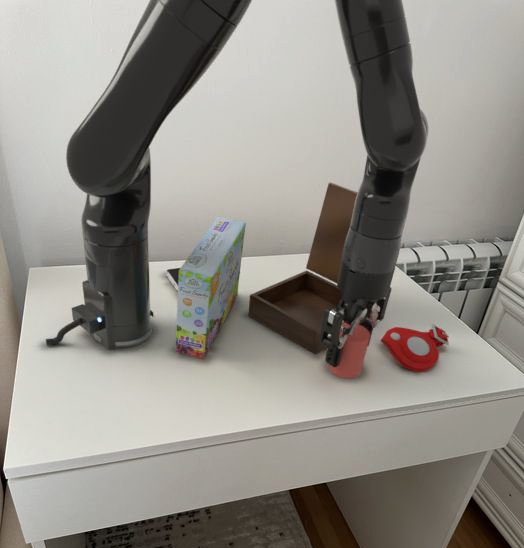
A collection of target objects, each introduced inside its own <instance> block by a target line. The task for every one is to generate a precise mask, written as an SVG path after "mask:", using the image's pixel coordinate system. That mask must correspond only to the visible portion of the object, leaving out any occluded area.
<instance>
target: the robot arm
mask: <svg viewBox="0 0 524 548" xmlns="http://www.w3.org/2000/svg"><path fill="white" fill-rule="evenodd" d="M252 1H253V0H149V1H148V3H147V5H146V7H145V9H144V12H143V14H142V16H141V17H140V19H139V21H138V24H137V25H136V27H135V29H134V31H133V34H132V36H131V37H130V40H129V41H128V44H127V46H126V48H125V51H124V53H123V55H122V57H121V60H120V61H119V64H118V66H117V69H116V71H115V73H114V74H113V76H112V78H111V80H110V82H109V83H108V84H107V86H106V88H105V89H104V91H103V92H102V94H101V95H100V97H99V98H98V99H97V101H96V102H95V104H94V105H93V107H92V108H91V110H90V111H89V112H88V114H87V115H86V116H85V117H84V119H83V120H82V121H81V123H79V125H78V127H76V129H75V131H74V132H73V133H72V134H71V136H70V138H69V140H68V143H67V145H66V146H67V147H66V153H65V154H66V157H65V159H66V167H67V170H68V173H69V176H70V178H71V180H72V182H73V183H74V185H75V186H76V187H77V188H78V189H79V190H81V191H82V192H83V193H85V194H86V199H85V204H84V207H83V211H82V214H81V231H82V241H83V250H84V251H83V252H84V260H85V261H84V262H85V269H86V278H87V279H86V280H84V281H82V282H81V283H82V284H81V285H82V294H83V300H84V301H83V302H84V303H82V304H79V305H76V306H73V307H71V314H72V321H71V322H70V323H68V324H66V325H64V326H63V327H62V328H61V329H59V331H57V332H58V333H57V334H56V336H55V337H53V338H46V339H45V343H46V346H55V345H57V344H60V343H61V342H62V341H63V339H64V337H65V335H66V334H67V333H69V332H71V331H72V330H74V329H75V328H79V326H80V327H81V328H82V329H83V330H85V331H86V332H87V334H88V335H89V336H91V337H92V338H93V339H95V341H96V342H98V343H99V344H100V345H102V346H103V347H104V348H106V349H107V350H110V351H111V350H113V349H116V348H128V347H134V346H137V345H140V344H142V343H144V342H145V341H147V340H148V339H149V338H150V336H151V335H152V331H153V330H152V326H153V325H152V318H154V316H155V315H154V311H153V310H151V288H150V287H151V286H150V264H149V263H150V259H149V258H150V256H149V221H150V220H149V219H150V216H151V215H150V213H151V205H152V160H151V159H152V158H151V149H150V146H151V144H152V143H153V141H154V138H155V137H156V135H157V133H158V131H159V130H160V128H161V127H162V125H163V124H164V122H165V121H166V119H167V117H168V116H169V115H170V114H171V113H172V111H174V109H175V108H176V107H177V106H178V105H179V104H180V103H181V101H182V100H183V99H185V97H186V96H187V95H188V93H190V91H191V90H192V89H193V88H194V87H195V85H196V84H198V82H199V81H200V80H201V78H202V77H203V76H204V75H205V73H206V72H207V71H208V70H209V68H210V67H211V66H212V65H213V63H214V62H215V61H216V59H217V58H218V57H219V55H220V54H221V52H222V51H223V49H224V48H225V46H226V45H227V43H228V42H229V40H230V39H231V37H232V36H233V34H234V33H235V32H236V29H237V28H238V25H240V23H241V22H242V20H243V18H244V17H245V15H246V13H247V11H248V9H249V8H250V7H251V4H252ZM334 4H335V5H334V6H335V11H336V15H337V20H338V24H339V25H338V26H339V29H340V34H341V38H342V42H343V47H344V50H345V55H346V60H347V64H348V65H349V70H350V74H351V77H352V79H353V83H354V88H355V94H356V104H357V110H358V112H357V113H358V118H359V125H360V131H361V136H362V140H363V145H364V149H365V152H366V155H367V156H366V161H365V165H364V172H363V176H362V180H361V183H360V186H359V187H358V191H357V192H358V193H357V196H356V199H355V203H354V209H353V214H352V219H351V224H350V228H349V231H348V233H347V236H346V240H345V244H344V249H343V254H342V259H341V264H340V269H339V274H338V279H337V283H336V285H337V286H338V288H339V289H340V291H341V293H342V298H341V300H340V302H339V305H338V307H337V308H335V309H332V308H330V307H328V308H326V310H325V313H324V318H323V323H322V329H321V334H320V339H319V342H320V343H322V344H324V345H326V346H327V347H328V348H327V349H326V355H325V359H324V360H325V363H326V364H328V365H329V364H330V365H331V366H333V367H337V366H339V365H340V360H341V356H342V351H343V345H344V343H345V342H346V340H347V338H348V336H351V335H353V333H354V332H355V330H356V328H357V326H358V324H359V323H360V322H362V323H360V324H359V325H361V326H363V327H365V328H366V329H367V330H368V331H369V333H370V338H369V342H368V346H367V348H368V347H369V346H370V343H371V338H372V334H373V329H375V328H376V327H377V325H378V321H380V322H381V321H383V320H384V319H385V315H386V311H387V308H388V303H389V300H390V296H391V293H392V287H391V285H392V282H393V278H394V274H395V270H396V266H397V262H398V258H399V255H400V251H401V243H402V236H403V233H404V228H405V224H406V222H407V217H408V213H409V209H410V202H411V193H412V187H413V184H414V181H415V179H416V175H417V172H418V168H419V165H420V161H421V158H422V155H423V154H424V152H425V150H426V146H427V141H428V136H429V123H428V120H427V116H426V115H425V113H424V111H423V110H422V109H421V108H420V103H419V99H418V94H417V90H416V85H415V81H414V75H413V70H414V69H413V68H414V67H413V66H414V60H413V50H412V43H411V39H410V33H409V28H408V24H407V17H406V13H405V8H404V4H403V0H334ZM378 307H379V310H378ZM151 317H152V318H151ZM343 322H345V323H346V324H348V325H350V327H349V328H345V327H344V326H342V323H343ZM340 331H342V332H343V334H342V336H341V338H340V339H339V335H340ZM328 333H329V334H328ZM327 335H328V336H327Z"/></svg>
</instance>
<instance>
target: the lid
mask: <svg viewBox="0 0 524 548" xmlns="http://www.w3.org/2000/svg"><path fill="white" fill-rule="evenodd" d="M357 193H358V191H355V190H353V189H350V188H347V187H344V186H342V185H339V184H337V183H333V182H328V184H327V187H326V191H325V195H324V199H323V202H322V206H321V210H320V214H319V217H318V221H317V224H316V229H315V233H314V236H313V240H312V243H311V247H310V252H309V254H308V259H307V263H306V266H305V269H306V270H307V271H309V272H311V273H313V274H316V275H318V276H320V277H322V278H324V279H326V280H328V281H330V282H332V283H334V284H337V279H338V274H339V269H340V264H341V259H342V254H343V249H344V244H345V240H346V236H347V233H348V231H349V228H350V224H351V219H352V214H353V209H354V203H355V199H356V196H357Z"/></svg>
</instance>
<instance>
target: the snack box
mask: <svg viewBox="0 0 524 548" xmlns="http://www.w3.org/2000/svg"><path fill="white" fill-rule="evenodd" d="M246 224H247V222H246V221H243V220H242V221H241V220H237V219H231V218H227V217H222V216H218V217H216V219H215V220H214V222H213V223H212V224H211V226H210V227H209V229H208V230H207V232H205V234H204V236H203V237H202V238H201V240H200V241H199V242H198V244H197V245H196V246H195V247H194V249H193V251H192V252H191V253H190V255H189V256H188V257H187V259H186V260H185V261H184V262H183V264H182V265H181V267H179V268H180V269H179V280H178V291H177V307H176V308H177V309H176V332H175V349H174V350H175V351H174V352H175V353H179V354H182V355H186V356H190V357H194V358H198V359H202V360H205V359H206V357H207V355H208V354H209V352H210V350H211V348H212V346H213V344H214V342H215V340H216V338H217V336H218V334H219V332H220V330H221V328H222V326H223V325H224V322H225V320H226V318H227V316H228V315H229V313H230V311H231V309H232V307H233V305H234V303H235V302H236V299H237V298H238V295H239V284H240V275H241V267H242V258H243V249H244V240H245V233H246V226H247V225H246Z"/></svg>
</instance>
